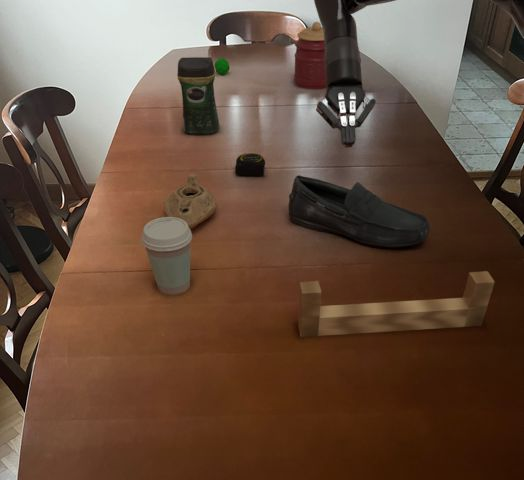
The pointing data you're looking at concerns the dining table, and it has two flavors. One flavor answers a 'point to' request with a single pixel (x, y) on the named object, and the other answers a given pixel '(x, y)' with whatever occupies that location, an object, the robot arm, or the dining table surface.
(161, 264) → the coffee cup
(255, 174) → the tape measure
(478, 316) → the wooden u-shaped bracket
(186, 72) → the coffee jar
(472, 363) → the dining table surface
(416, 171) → the dining table surface
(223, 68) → the polyhedron
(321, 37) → the kitchen canister
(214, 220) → the dining table surface
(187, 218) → the oil lamp
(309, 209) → the loafer
